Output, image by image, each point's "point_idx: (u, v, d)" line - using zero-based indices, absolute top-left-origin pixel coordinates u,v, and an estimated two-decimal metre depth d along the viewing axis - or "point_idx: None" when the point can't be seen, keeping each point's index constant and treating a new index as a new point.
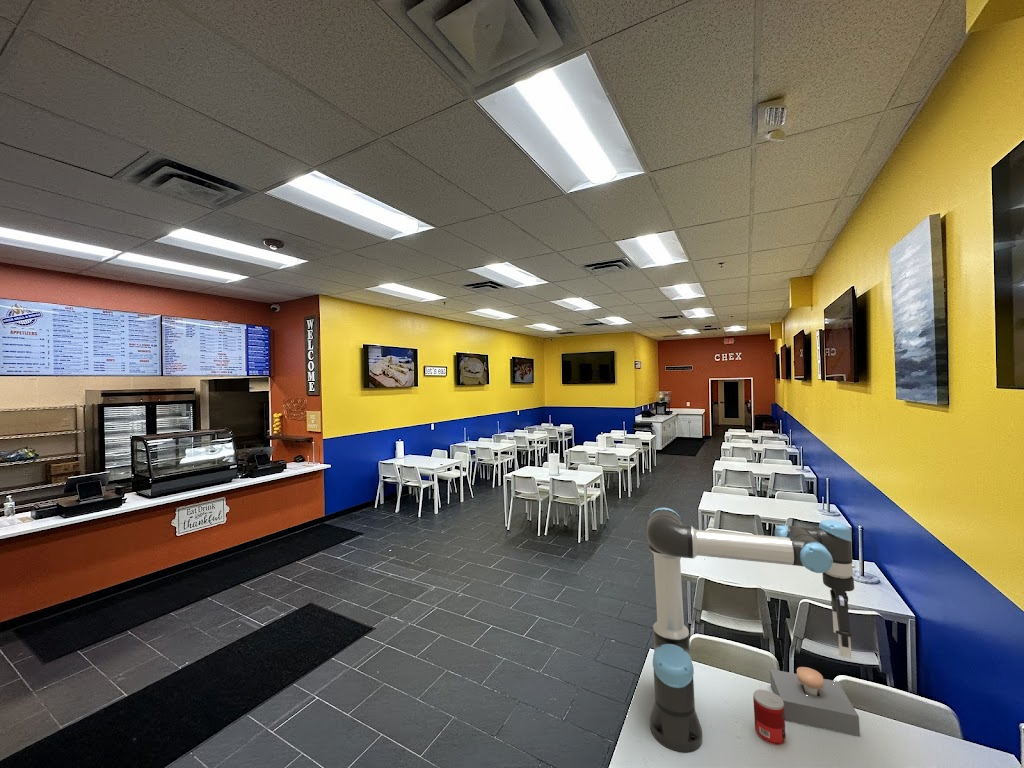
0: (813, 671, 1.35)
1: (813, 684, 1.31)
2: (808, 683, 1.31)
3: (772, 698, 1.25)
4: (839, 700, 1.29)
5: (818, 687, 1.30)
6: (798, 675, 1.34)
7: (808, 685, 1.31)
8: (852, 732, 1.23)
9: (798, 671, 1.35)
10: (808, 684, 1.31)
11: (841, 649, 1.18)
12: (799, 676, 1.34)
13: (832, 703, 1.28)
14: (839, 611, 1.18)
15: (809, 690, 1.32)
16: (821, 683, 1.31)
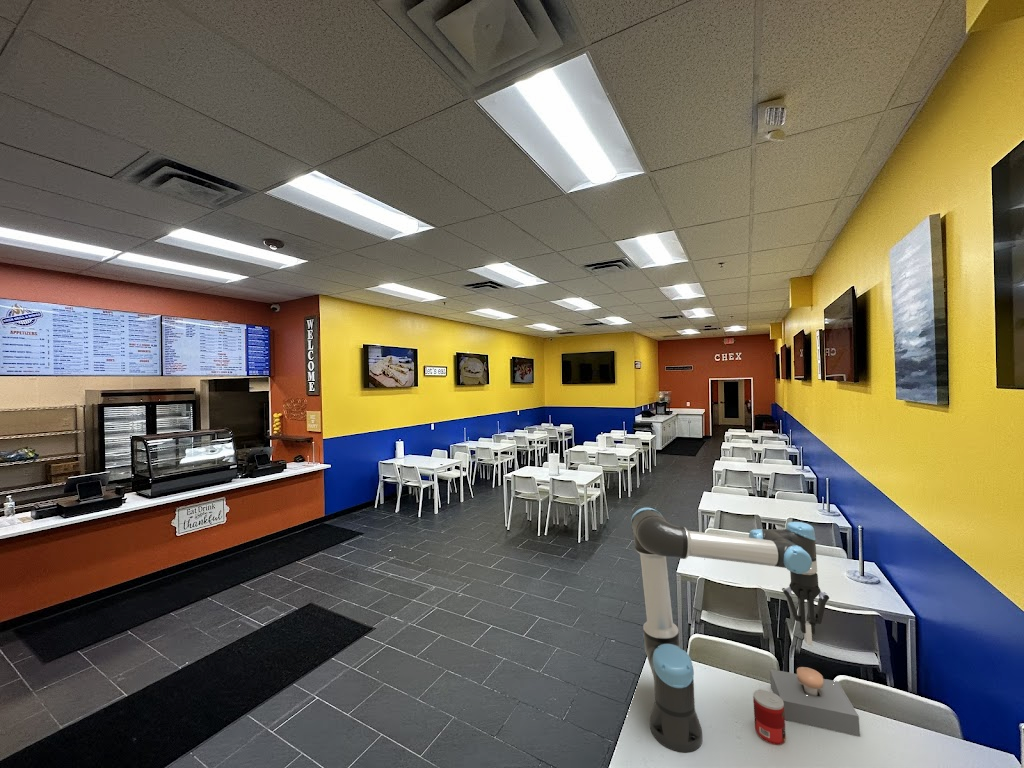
0: (813, 671, 1.35)
1: (813, 684, 1.31)
2: (808, 683, 1.31)
3: (772, 698, 1.25)
4: (839, 700, 1.29)
5: (818, 687, 1.30)
6: (798, 675, 1.34)
7: (808, 685, 1.31)
8: (852, 732, 1.23)
9: (798, 671, 1.35)
10: (808, 684, 1.31)
11: (804, 635, 1.35)
12: (799, 676, 1.34)
13: (832, 703, 1.28)
14: (787, 599, 1.37)
15: (809, 690, 1.32)
16: (821, 683, 1.31)
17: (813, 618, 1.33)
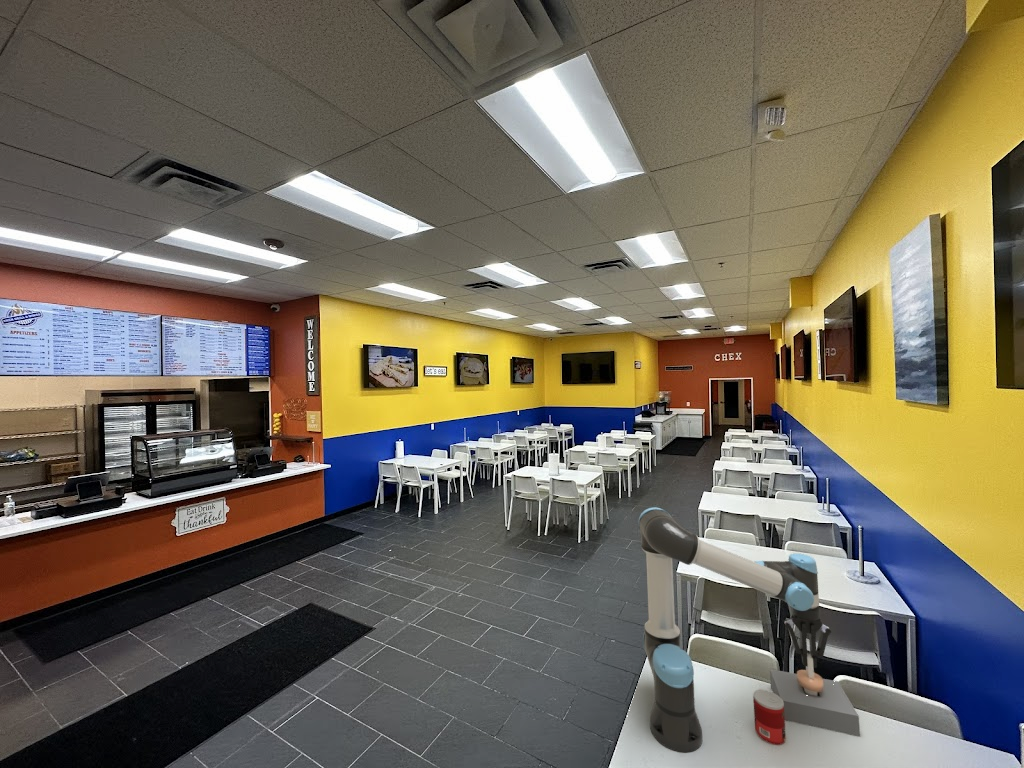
0: None
1: (813, 687, 1.30)
2: (808, 686, 1.31)
3: (772, 698, 1.25)
4: (839, 700, 1.29)
5: (818, 690, 1.30)
6: (798, 678, 1.34)
7: (808, 688, 1.31)
8: (852, 732, 1.23)
9: (798, 674, 1.35)
10: (808, 687, 1.31)
11: (806, 667, 1.35)
12: (799, 679, 1.34)
13: (832, 703, 1.28)
14: (789, 631, 1.37)
15: (809, 693, 1.32)
16: (821, 686, 1.31)
17: (814, 651, 1.33)
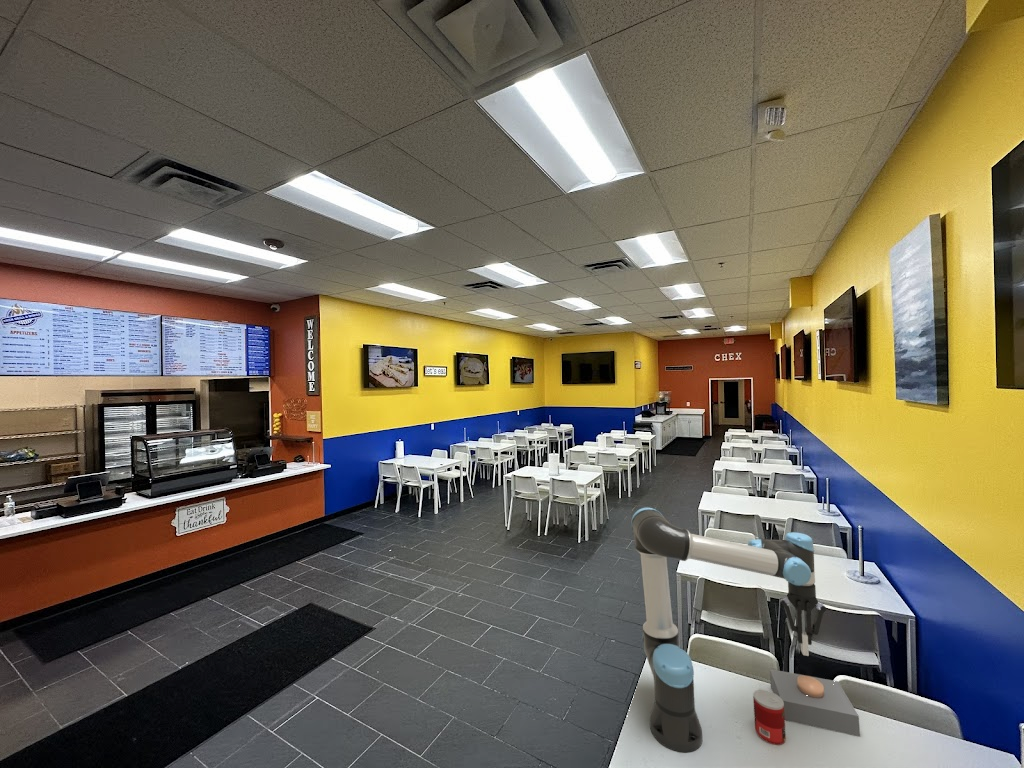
0: (814, 680, 1.35)
1: (814, 693, 1.30)
2: (809, 692, 1.31)
3: (772, 698, 1.25)
4: (839, 700, 1.29)
5: (819, 696, 1.30)
6: (799, 684, 1.34)
7: (809, 694, 1.31)
8: (852, 732, 1.23)
9: (799, 680, 1.35)
10: (809, 693, 1.31)
11: (801, 645, 1.36)
12: (800, 685, 1.34)
13: (832, 703, 1.28)
14: (785, 609, 1.38)
15: None
16: (822, 692, 1.31)
17: (809, 628, 1.34)
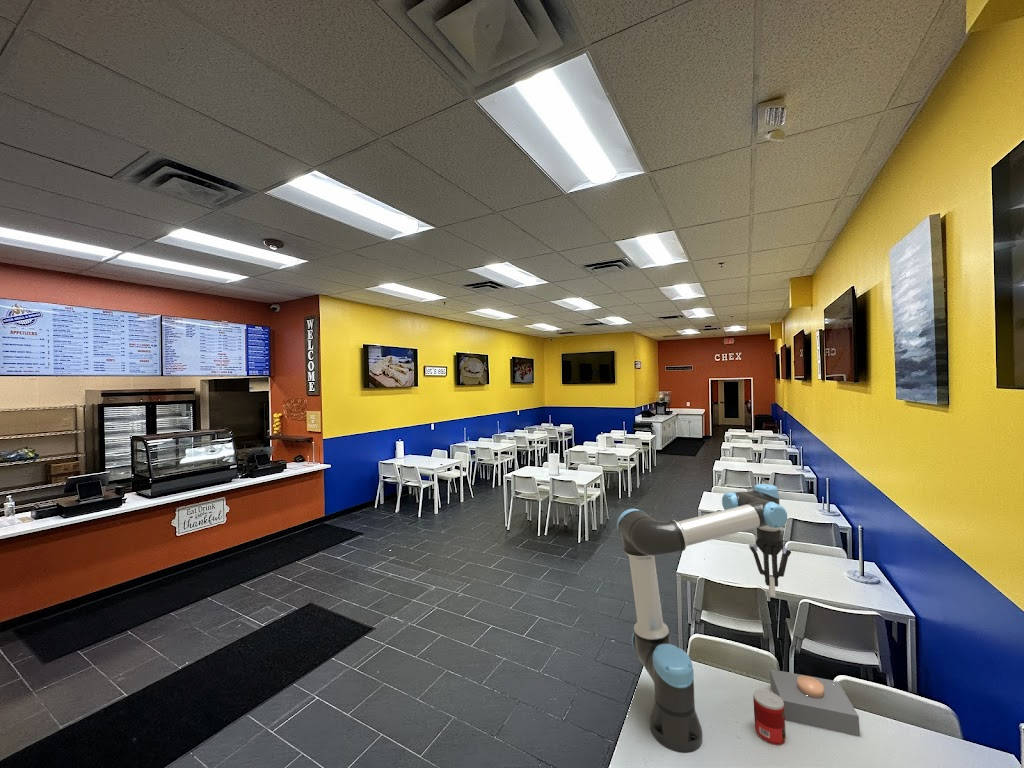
0: (814, 680, 1.35)
1: (814, 693, 1.30)
2: (809, 692, 1.31)
3: (772, 698, 1.25)
4: (839, 700, 1.29)
5: (819, 696, 1.30)
6: (799, 684, 1.34)
7: (809, 694, 1.31)
8: (852, 732, 1.23)
9: (799, 680, 1.35)
10: (809, 693, 1.31)
11: None
12: (800, 685, 1.34)
13: (832, 703, 1.28)
14: (754, 555, 1.48)
15: None
16: (822, 692, 1.31)
17: (776, 571, 1.44)
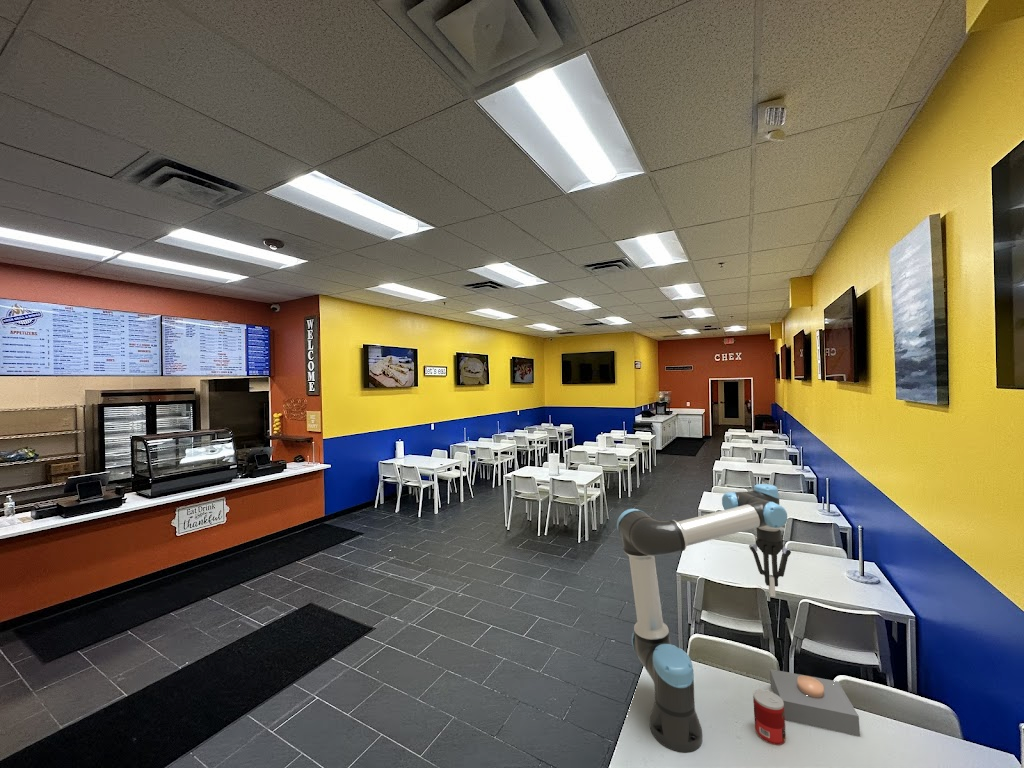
0: (814, 680, 1.35)
1: (814, 693, 1.30)
2: (809, 692, 1.31)
3: (772, 698, 1.25)
4: (839, 700, 1.29)
5: (819, 696, 1.30)
6: (799, 684, 1.34)
7: (809, 694, 1.31)
8: (852, 732, 1.23)
9: (799, 680, 1.35)
10: (809, 693, 1.31)
11: None
12: (800, 685, 1.34)
13: (832, 703, 1.28)
14: (754, 555, 1.48)
15: None
16: (822, 692, 1.31)
17: (776, 571, 1.44)
